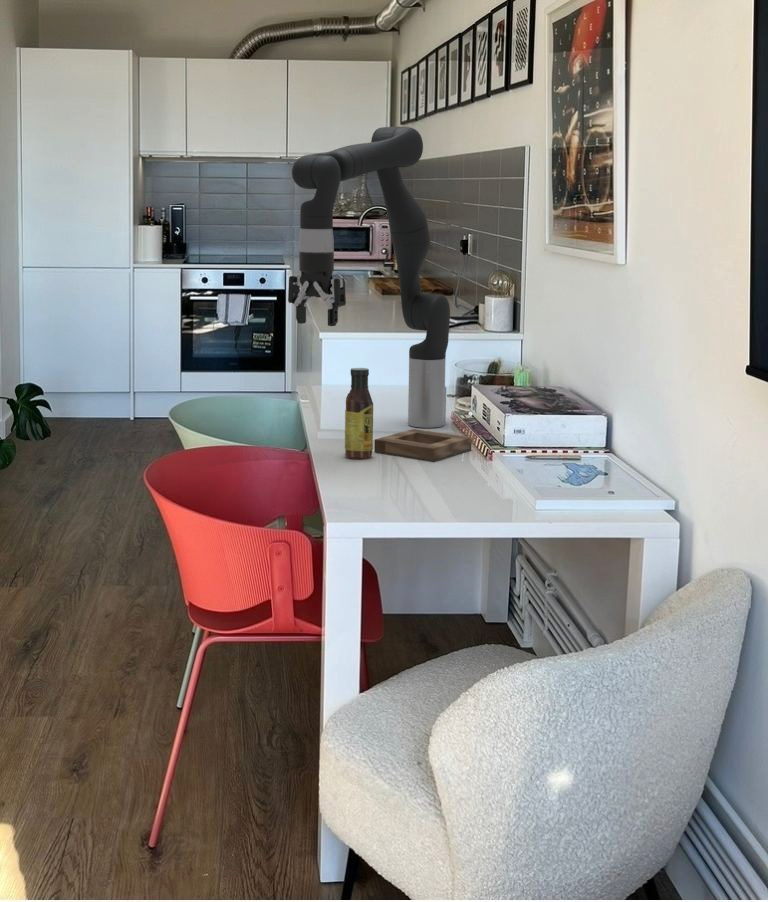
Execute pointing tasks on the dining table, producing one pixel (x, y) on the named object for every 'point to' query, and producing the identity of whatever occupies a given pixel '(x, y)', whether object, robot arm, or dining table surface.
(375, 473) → the dining table surface
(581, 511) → the dining table surface
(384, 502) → the dining table surface
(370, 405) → the sauce bottle
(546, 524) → the dining table surface
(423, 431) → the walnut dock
